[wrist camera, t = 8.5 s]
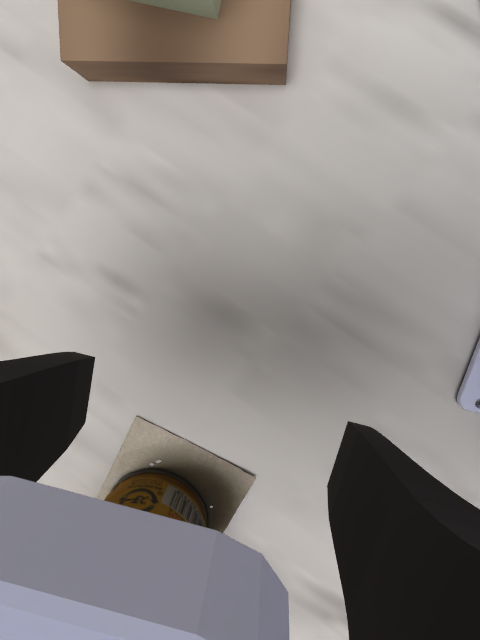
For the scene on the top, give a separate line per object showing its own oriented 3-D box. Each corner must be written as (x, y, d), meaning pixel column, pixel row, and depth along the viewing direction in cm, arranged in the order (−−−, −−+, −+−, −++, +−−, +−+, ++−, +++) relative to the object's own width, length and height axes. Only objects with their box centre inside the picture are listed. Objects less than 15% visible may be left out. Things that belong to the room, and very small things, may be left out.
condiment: (82, 529, 25) (-92, 800, 13) (137, 414, 23) (-12, 615, 11) (191, 583, 25) (115, 899, 13) (256, 474, 23) (232, 734, 11)
